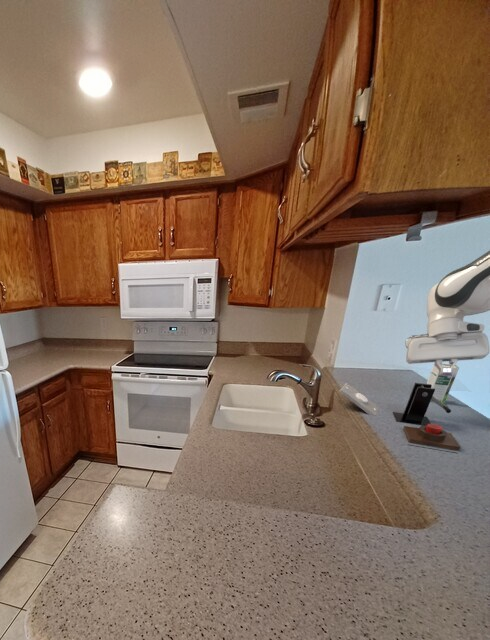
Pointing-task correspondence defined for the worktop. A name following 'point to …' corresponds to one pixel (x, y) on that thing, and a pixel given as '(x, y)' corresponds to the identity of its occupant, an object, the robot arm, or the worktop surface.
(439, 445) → the button box
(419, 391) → the bracket
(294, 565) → the worktop surface
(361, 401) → the light switch
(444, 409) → the switch lever
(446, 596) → the worktop surface
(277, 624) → the worktop surface
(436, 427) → the button
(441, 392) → the syrup box
